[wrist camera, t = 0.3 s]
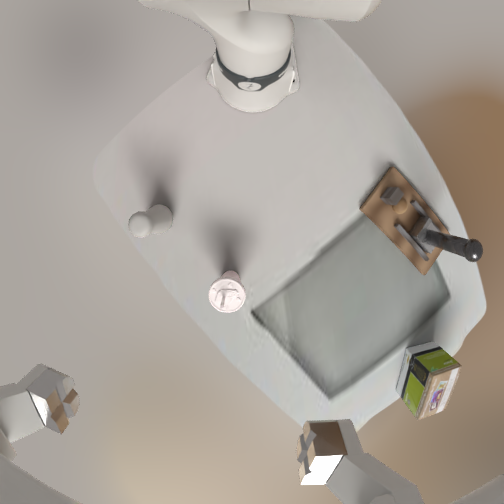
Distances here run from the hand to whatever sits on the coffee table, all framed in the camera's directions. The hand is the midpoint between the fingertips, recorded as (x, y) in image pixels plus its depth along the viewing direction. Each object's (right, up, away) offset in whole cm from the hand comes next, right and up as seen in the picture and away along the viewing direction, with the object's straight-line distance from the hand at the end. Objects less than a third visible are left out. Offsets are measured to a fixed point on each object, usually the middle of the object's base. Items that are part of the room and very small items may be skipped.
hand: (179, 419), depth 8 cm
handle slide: (+40, +9, +45) cm, 61 cm away
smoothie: (-2, 0, +49) cm, 49 cm away
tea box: (+47, -26, +55) cm, 77 cm away
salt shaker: (-16, +12, +46) cm, 50 cm away
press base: (+37, +12, +47) cm, 61 cm away
